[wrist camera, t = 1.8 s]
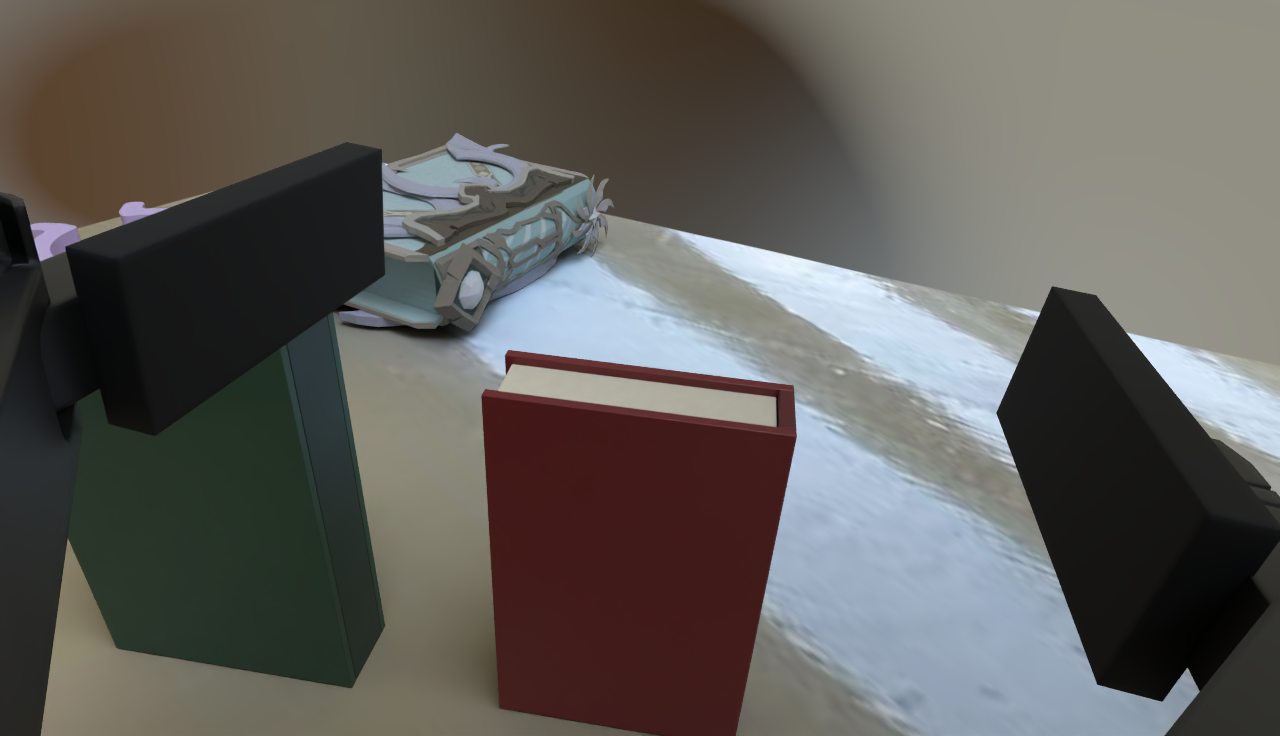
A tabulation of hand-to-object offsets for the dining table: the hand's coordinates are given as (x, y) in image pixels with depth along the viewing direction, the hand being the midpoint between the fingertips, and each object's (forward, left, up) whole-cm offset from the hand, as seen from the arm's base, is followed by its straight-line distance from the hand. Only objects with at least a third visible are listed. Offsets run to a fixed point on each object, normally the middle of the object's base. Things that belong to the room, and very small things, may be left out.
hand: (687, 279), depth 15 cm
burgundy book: (+5, -6, -23) cm, 24 cm away
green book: (+20, +3, -23) cm, 31 cm away
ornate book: (+46, -31, -24) cm, 60 cm away
